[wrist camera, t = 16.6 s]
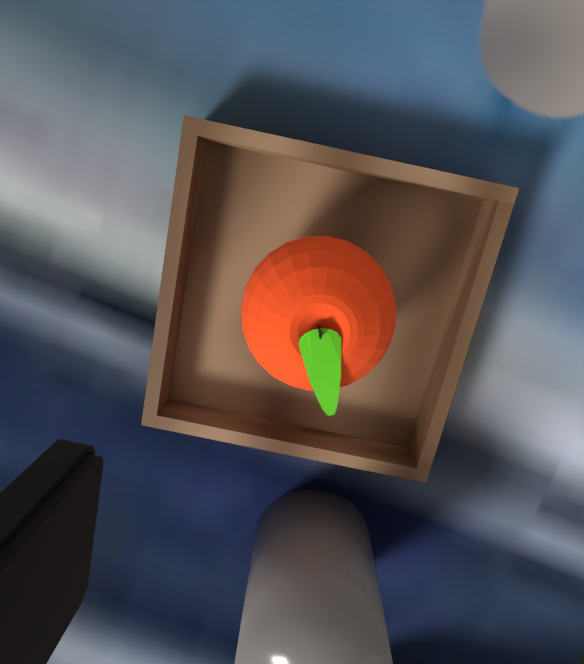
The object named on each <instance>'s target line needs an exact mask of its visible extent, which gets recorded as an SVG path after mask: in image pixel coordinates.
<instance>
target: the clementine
mask: <svg viewBox="0 0 584 664" xmlns="http://www.w3.org/2000/svg"><path fill="white" fill-rule="evenodd" d="M241 312H242V330H243V333H244V336H245V339H246V342H247V345H248V348H249V350H250V351H251V353H252V354H253V356H254V357H255V359H256V360H257V362H258V363H259V365H261V366H262V367H263V368H264V369H265V370H266V371H267V372H268V373H269V374H270V375H272V376H273V377H274V378H276V379H278V380H280V381H282V382H284V383H285V384H287V385H289V386H292V387H296V388H300V389H304V390H309V391H314V392H315V395H316V397H317V399H318V401H319V403H320V405H321V407H322V409H323V411H324V412H325V413H326V414H327V416H329V415H334V414H335V412H336V409H337V404H338V397H339V389H340V387H344V386H348V385H350V384H352V383H353V382H355V381H357V380H359V379H361V378H363V377H364V376H366V375H367V374H368V373H369V372H370V371H371V370H372V369H373V368H374V367H375V366H376V365H377V364H379V362H380V361H381V359H382V358H383V356H384V355H385V353H386V351H387V350H388V348H389V347H390V344H391V341H392V337H393V334H394V331H395V328H396V303H395V299H394V295H393V291H392V287H391V283H390V281H389V280H388V278H387V276H386V274H385V272H384V271H383V269H382V267H381V266H380V265H379V264H378V263H377V262H376V261H375V260H374V259H373V258H372V257H371V256H370V255H369V254H368V253H367V252H366V251H365V250H363V249H361V248H360V247H358V246H356V245H354V244H352V243H351V242H349V241H346V240H342V239H338V238H334V237H330V236H307V237H303V238H300V239H296V240H293V241H290V242H287V243H285V244H283V245H282V246H280V247H278V248H277V249H275V250H273V251H272V252H270V253H269V254H268V255H267V256H266V257H265V258H264V259H263V260H262V261H261V262H260V263H259V264H258V266H257V267H256V268H255V269H254V271H253V273H252V275H251V277H250V279H249V281H248V282H247V284H246V287H245V291H244V296H243V300H242V305H241Z"/></svg>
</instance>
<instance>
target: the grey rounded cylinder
mask: <svg viewBox="0 0 584 664" xmlns="http://www.w3.org/2000/svg"><path fill="white" fill-rule="evenodd" d="M235 664H393V662H392V656H391V651H390V645H389V640H388V634H387V629H386V623H385V618H384V612H383V607H382V601H381V596H380V590H379V585H378V579H377V574H376V568H375V563H374V557H373V552H372V546H371V541H370V535H369V530H368V526H367V523H366V521H365V519H364V517H363V516H362V514H361V512H360V511H359V510H358V509H357V508H356V507H355V506H354V505H353V504H352V503H351V502H350V501H348V500H347V499H345V498H343V497H342V496H340V495H337V494H335V493H332V492H329V491H325V490H318V489H306V490H299V491H294V492H291V493H288V494H286V495H284V496H282V497H280V498H278V499H277V500H275V501H274V502H273V503H272V504H270V505H269V506H268V507H267V508H266V510H265V511H264V512H263V514H262V515H261V517H260V519H259V521H258V524H257V527H256V533H255V539H254V545H253V552H252V558H251V564H250V570H249V577H248V583H247V589H246V596H245V602H244V608H243V614H242V621H241V627H240V633H239V640H238V646H237V652H236V658H235Z"/></svg>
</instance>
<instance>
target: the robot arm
mask: <svg viewBox="0 0 584 664" xmlns="http://www.w3.org/2000/svg"><path fill="white" fill-rule="evenodd" d="M102 469H103V458H102V457H101V456H96V455H95V450H94V447H93V446H91V445H86V444H82V443H77V442H72V441H68V440H63V439H59V440H58V441H56V442H55V443H54V444H53V445H52V446H51V447H49V448H48V449H47V450H46V451H45V452H44V453H43V454H42V455H41V456H40V457H39V458H38V459H37V460H35V461H34V462H33V463H32V464H31V465H30V466H29V467H28V468H27V469H26V470H25V471H24V472H22V473H21V474H20V475H19V476H18V477H17V478H16V479H15V480H14V481H13V482H12V483H11V484H10V485H8V486H7V487H6V488H5V489H4V490H3V491H2V492H1V493H0V664H46V663H47V662H48V660H49V658H50V656H51V655H52V653H53V651H54V650H55V648H56V646H57V644H58V643H59V641H60V639H61V637H62V636H63V634H64V632H65V631H66V629H67V627H68V625H69V624H70V622H71V620H72V618H73V617H74V615H75V613H76V612H77V610H78V608H79V606H80V604H81V602H82V600H83V598H84V595H85V592H86V588H87V584H88V578H89V570H90V563H91V555H92V547H93V539H94V531H95V524H96V516H97V508H98V500H99V493H100V485H101V477H102ZM579 664H584V654H583V656H582V658H581V660H580V663H579Z"/></svg>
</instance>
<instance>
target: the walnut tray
mask: <svg viewBox="0 0 584 664" xmlns="http://www.w3.org/2000/svg"><path fill="white" fill-rule="evenodd" d="M518 191H519V188H517V187H512V186H507V185H503V184H498V183H494V182H489V181H484V180H480V179H475V178H471V177H466V176H461V175H457V174H452V173H448V172H443V171H438V170H434V169H429V168H425V167H420V166H415V165H411V164H406V163H402V162H397V161H392V160H388V159H383V158H379V157H374V156H369V155H365V154H360V153H356V152H351V151H346V150H342V149H337V148H333V147H328V146H323V145H319V144H314V143H310V142H305V141H300V140H296V139H291V138H287V137H282V136H277V135H273V134H268V133H264V132H259V131H254V130H250V129H245V128H241V127H236V126H231V125H227V124H222V123H218V122H213V121H208V120H204V119H199V118H195V117H190V116H185V115H184V119H183V127H182V134H181V141H180V148H179V156H178V163H177V170H176V177H175V185H174V192H173V199H172V206H171V214H170V221H169V228H168V235H167V243H166V250H165V257H164V264H163V272H162V279H161V286H160V293H159V301H158V308H157V315H156V322H155V330H154V337H153V344H152V351H151V359H150V366H149V373H148V380H147V388H146V395H145V402H144V409H143V417H142V424H141V425H144V426H148V427H153V428H158V429H163V430H168V431H173V432H178V433H183V434H188V435H193V436H198V437H203V438H208V439H212V440H217V441H222V442H227V443H232V444H237V445H242V446H247V447H252V448H257V449H262V450H267V451H272V452H276V453H281V454H286V455H291V456H296V457H301V458H306V459H311V460H316V461H321V462H326V463H331V464H336V465H340V466H345V467H350V468H355V469H360V470H365V471H370V472H375V473H380V474H385V475H390V476H395V477H400V478H404V479H409V480H414V481H419V482H424V483H426V482H427V478H428V475H429V472H430V469H431V466H432V463H433V459H434V456H435V453H436V450H437V447H438V444H439V440H440V437H441V434H442V431H443V428H444V425H445V421H446V418H447V415H448V412H449V409H450V406H451V402H452V399H453V396H454V393H455V390H456V387H457V384H458V380H459V377H460V374H461V371H462V368H463V365H464V361H465V358H466V355H467V352H468V349H469V346H470V342H471V339H472V336H473V333H474V330H475V327H476V323H477V320H478V317H479V314H480V311H481V308H482V304H483V301H484V298H485V295H486V292H487V289H488V285H489V282H490V279H491V276H492V273H493V270H494V267H495V263H496V260H497V257H498V254H499V251H500V248H501V244H502V241H503V238H504V235H505V232H506V229H507V225H508V222H509V219H510V216H511V213H512V210H513V206H514V203H515V200H516V197H517V194H518ZM307 236H330V237H334V238H338V239H342V240H346V241H349V242H351V243H352V244H354V245H356V246H358V247H360V248H361V249H363V250H365V251H366V252H367V253H368V254H369V255H370V256H371V257H372V258H373V259H374V260H375V261H376V262H377V263H378V264H379V265H380V266H381V267H382V269H383V271H384V272H385V274H386V276H387V278H388V280H389V281H390V283H391V287H392V291H393V295H394V299H395V303H396V328H395V331H394V334H393V337H392V341H391V344H390V347H389V348H388V350H387V351H386V353H385V355H384V356H383V358H382V359H381V361H380V362H379V364H377V365H376V366H375V367H374V368H373V369H372V370H371V371H370V372H369V373H368V374H367V375H366V376H364V377H363V378H361V379H359V380H357V381H355V382H353V383H352V384H350V385H348V386H344V387H340V389H339V397H338V404H337V409H336V412H335V414H334V415H329V416H327V414H326V413H325V412H324V411H323V409H322V407H321V405H320V403H319V401H318V399H317V397H316V395H315V392H314V391H309V390H304V389H300V388H296V387H292V386H289V385H287V384H285V383H284V382H282V381H280V380H278V379H276V378H274V377H273V376H272V375H270V374H269V373H268V372H267V371H266V370H265V369H264V368H263V367H262V366H261V365H259V363H258V362H257V360H256V359H255V357H254V356H253V354H252V353H251V351H250V350H249V348H248V345H247V342H246V339H245V336H244V333H243V330H242V312H241V305H242V300H243V296H244V291H245V287H246V284H247V282H248V281H249V279H250V277H251V275H252V273H253V271H254V269H255V268H256V267H257V266H258V264H259V263H260V262H261V261H262V260H263V259H264V258H265V257H266V256H267V255H268V254H269V253H270V252H272V251H273V250H275V249H277V248H278V247H280V246H282V245H283V244H285V243H287V242H290V241H293V240H296V239H300V238H303V237H307Z"/></svg>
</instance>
